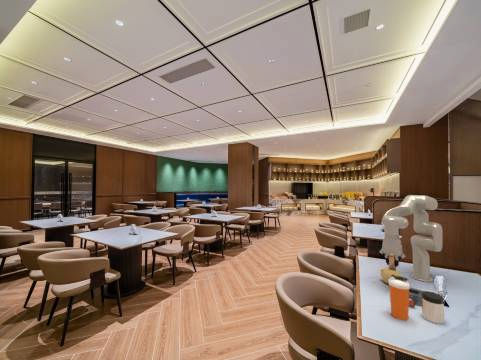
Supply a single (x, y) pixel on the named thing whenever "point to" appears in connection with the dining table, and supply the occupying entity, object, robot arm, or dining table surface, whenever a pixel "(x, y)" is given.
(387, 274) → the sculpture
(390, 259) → the pipe stub
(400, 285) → the shaker bottle
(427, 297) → the jar
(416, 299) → the valve body
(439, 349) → the dining table surface
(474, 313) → the dining table surface
